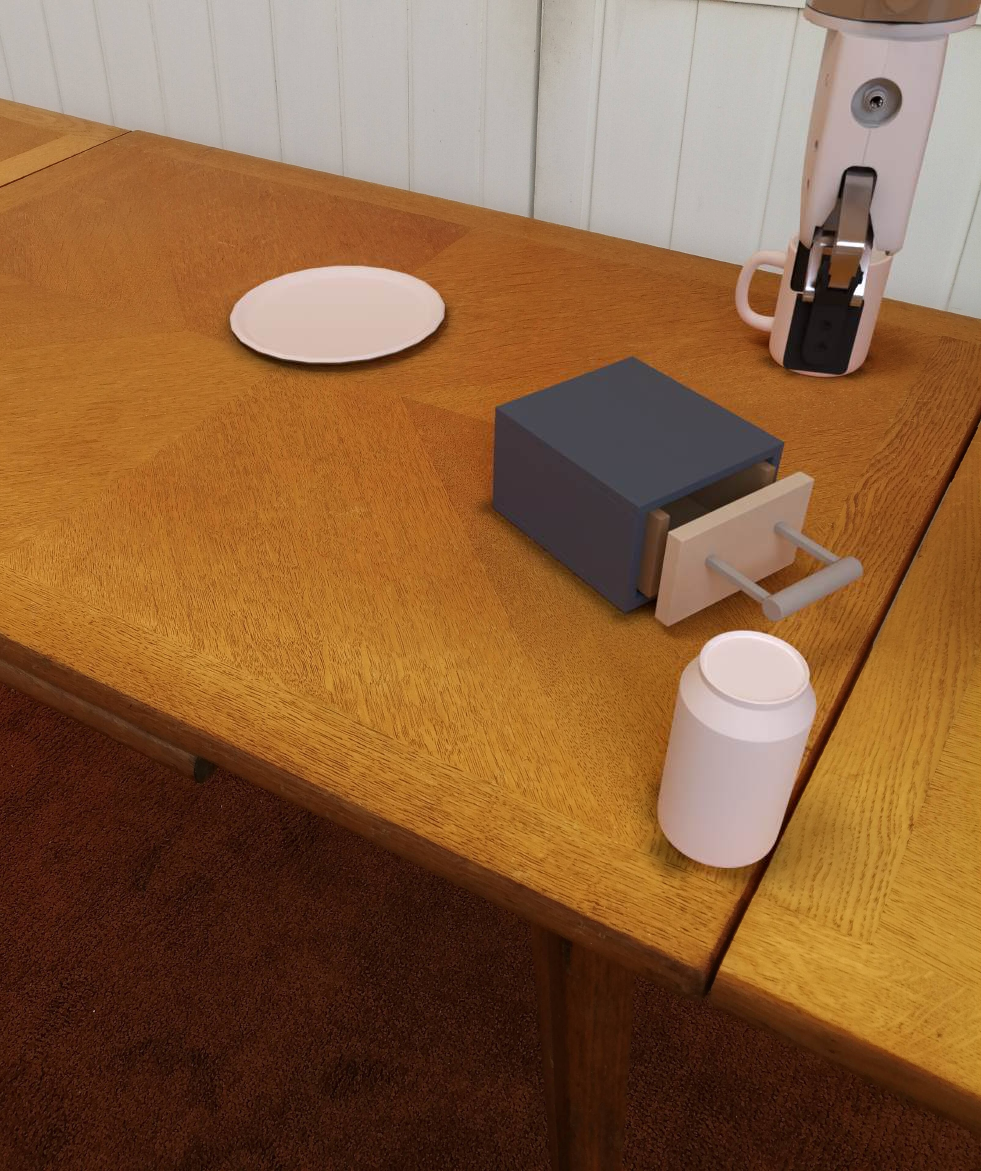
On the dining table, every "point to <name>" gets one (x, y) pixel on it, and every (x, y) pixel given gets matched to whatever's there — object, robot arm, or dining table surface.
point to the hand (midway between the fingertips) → (815, 328)
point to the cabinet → (613, 465)
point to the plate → (337, 315)
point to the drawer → (735, 546)
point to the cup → (787, 296)
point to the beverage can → (735, 748)
